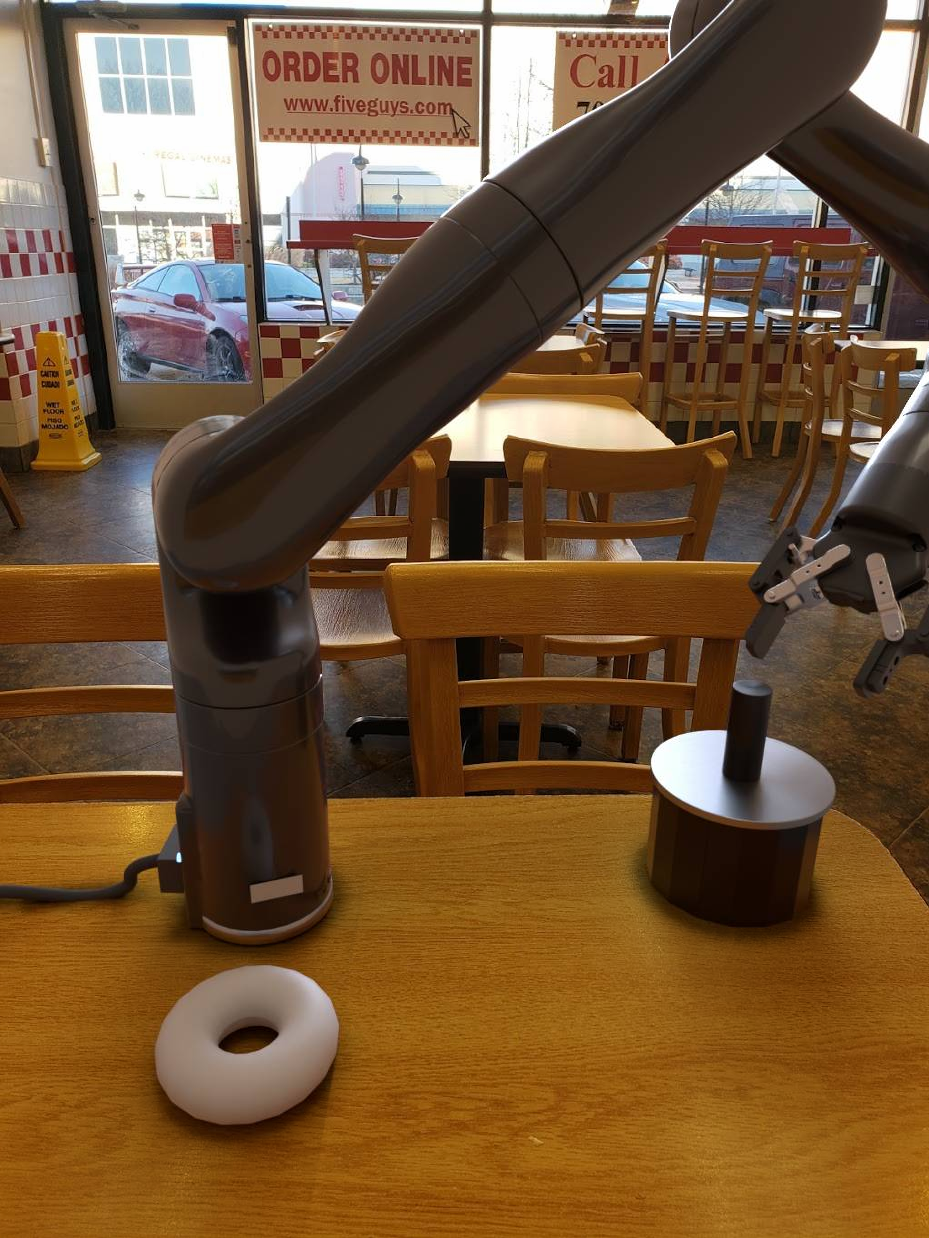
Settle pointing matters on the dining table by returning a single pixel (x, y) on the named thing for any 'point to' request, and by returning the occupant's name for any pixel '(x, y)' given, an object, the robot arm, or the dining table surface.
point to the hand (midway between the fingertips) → (804, 672)
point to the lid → (743, 770)
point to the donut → (255, 1079)
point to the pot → (729, 867)
